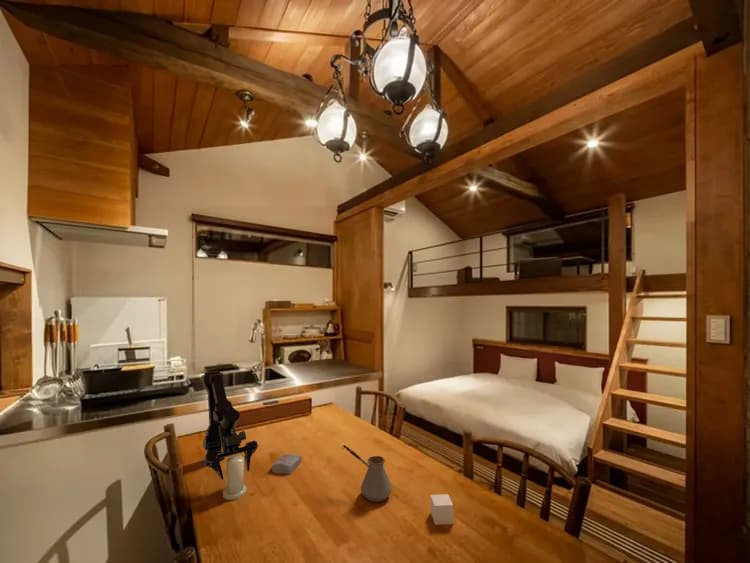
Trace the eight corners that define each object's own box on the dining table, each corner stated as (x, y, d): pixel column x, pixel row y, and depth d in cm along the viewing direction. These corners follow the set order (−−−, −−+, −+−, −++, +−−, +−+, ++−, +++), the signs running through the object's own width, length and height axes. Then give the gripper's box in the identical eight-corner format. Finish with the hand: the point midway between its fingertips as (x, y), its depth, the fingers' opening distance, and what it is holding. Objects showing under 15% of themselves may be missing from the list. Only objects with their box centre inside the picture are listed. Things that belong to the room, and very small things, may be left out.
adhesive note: (430, 513, 114) (430, 494, 115) (448, 512, 115) (447, 494, 115) (435, 525, 108) (434, 505, 109) (453, 524, 109) (453, 504, 109)
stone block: (270, 477, 141) (292, 474, 140) (268, 465, 142) (290, 462, 140) (283, 465, 153) (303, 462, 151) (281, 453, 153) (301, 451, 152)
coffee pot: (397, 492, 126) (397, 451, 127) (381, 509, 117) (381, 464, 117) (351, 477, 138) (351, 439, 138) (333, 490, 128) (333, 450, 129)
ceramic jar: (220, 492, 127) (221, 458, 128) (242, 485, 132) (242, 452, 132) (226, 503, 121) (226, 466, 121) (249, 494, 126) (249, 460, 126)
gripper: (205, 431, 125) (212, 473, 116) (256, 419, 137) (266, 457, 127) (201, 445, 131) (206, 487, 122) (250, 433, 142) (258, 471, 133)
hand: (235, 475), depth 126 cm, fingers open, 9 cm apart
